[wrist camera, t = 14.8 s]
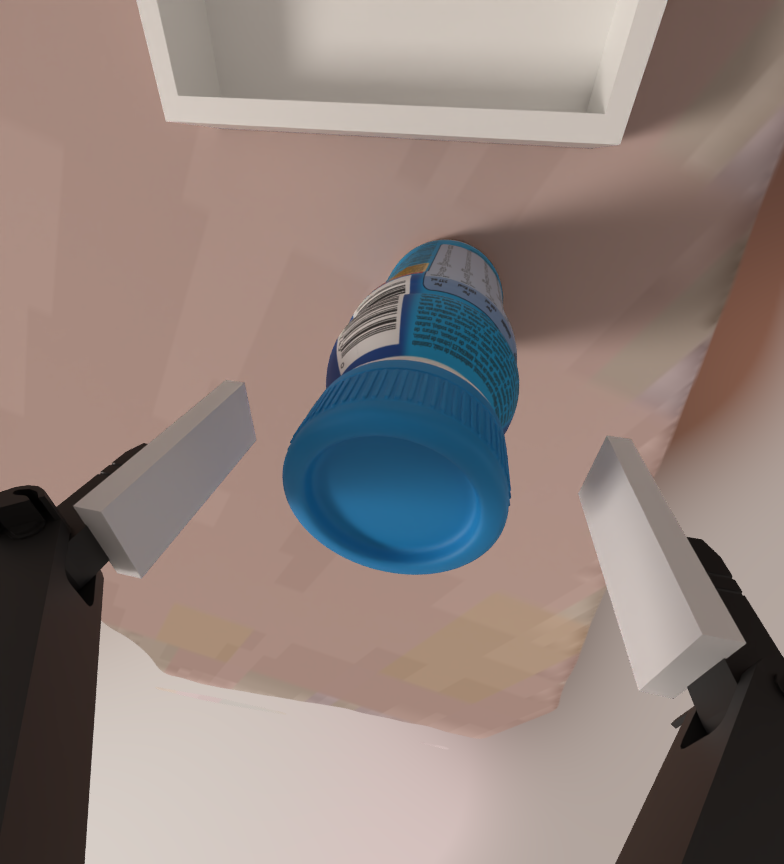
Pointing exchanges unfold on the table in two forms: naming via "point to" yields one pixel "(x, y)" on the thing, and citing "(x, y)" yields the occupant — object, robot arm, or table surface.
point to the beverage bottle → (413, 420)
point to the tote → (405, 67)
